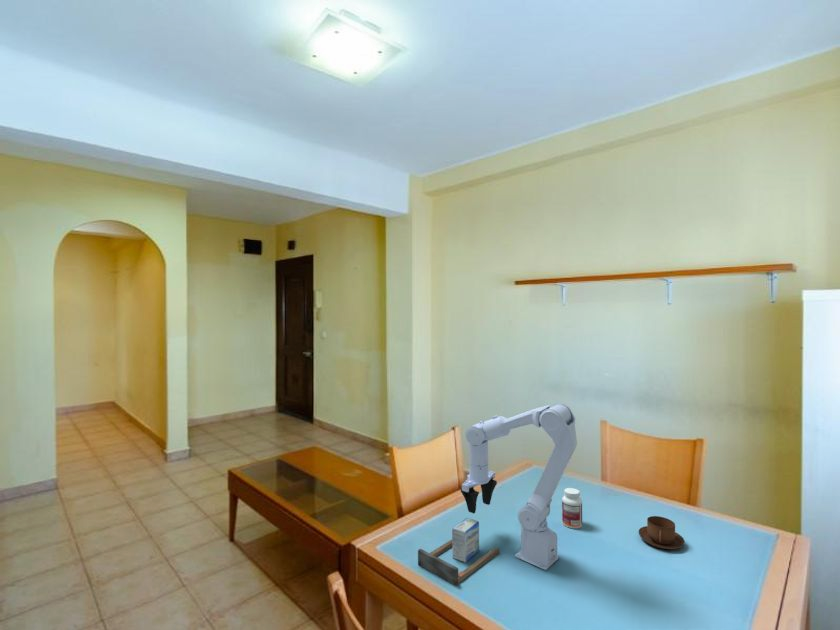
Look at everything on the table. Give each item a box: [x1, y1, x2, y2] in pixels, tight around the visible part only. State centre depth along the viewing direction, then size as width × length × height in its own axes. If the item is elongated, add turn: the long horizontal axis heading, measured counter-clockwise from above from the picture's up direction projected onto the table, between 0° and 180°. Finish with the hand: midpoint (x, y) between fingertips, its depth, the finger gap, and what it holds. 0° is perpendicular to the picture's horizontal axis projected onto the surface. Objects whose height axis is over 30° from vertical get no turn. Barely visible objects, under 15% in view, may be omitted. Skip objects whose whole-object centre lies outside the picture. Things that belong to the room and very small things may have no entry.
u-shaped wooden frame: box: [417, 539, 500, 586], centre depth 121 cm, size 13×20×4 cm, turn 137°
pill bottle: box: [561, 487, 583, 530], centre depth 140 cm, size 6×6×11 cm
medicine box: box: [451, 517, 480, 563], centre depth 123 cm, size 8×4×9 cm, turn 143°
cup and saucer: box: [638, 515, 685, 550], centre depth 129 cm, size 12×12×6 cm
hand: (479, 507), depth 132 cm, fingers open, 7 cm apart
